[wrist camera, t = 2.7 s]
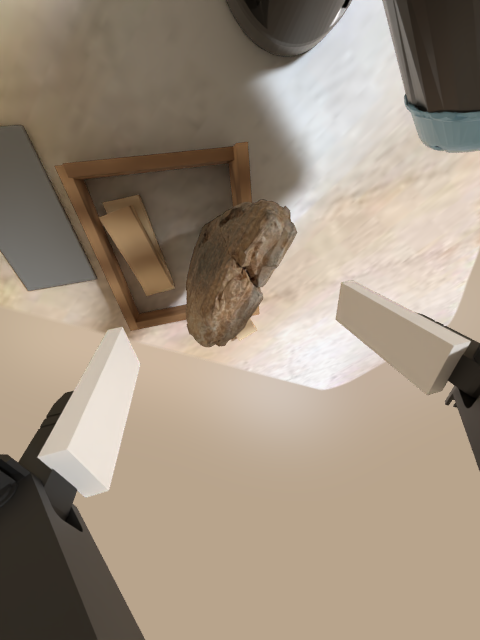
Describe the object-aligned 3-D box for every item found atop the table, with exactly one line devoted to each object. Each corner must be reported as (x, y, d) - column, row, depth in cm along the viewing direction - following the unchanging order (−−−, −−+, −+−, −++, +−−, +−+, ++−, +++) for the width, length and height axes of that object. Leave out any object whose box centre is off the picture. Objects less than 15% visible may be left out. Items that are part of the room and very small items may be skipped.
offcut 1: (106, 202, 28) (101, 202, 26) (140, 194, 28) (137, 194, 27) (148, 291, 35) (146, 296, 33) (174, 284, 35) (174, 288, 34)
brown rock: (204, 288, 36) (221, 372, 19) (175, 277, 34) (167, 359, 17) (244, 205, 31) (315, 220, 14) (213, 185, 29) (254, 177, 12)
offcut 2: (103, 215, 27) (98, 217, 25) (132, 205, 27) (128, 205, 25) (149, 290, 33) (148, 296, 31) (172, 281, 33) (172, 286, 31)
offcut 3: (222, 314, 40) (223, 319, 38) (240, 303, 39) (242, 307, 38) (237, 335, 43) (239, 340, 42) (254, 325, 43) (257, 330, 41)
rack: (67, 168, 25) (38, 162, 20) (236, 150, 28) (247, 141, 23) (134, 321, 36) (126, 341, 31) (249, 298, 39) (259, 314, 34)
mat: (-77, 133, 21) (-81, 132, 21) (23, 125, 23) (20, 124, 22) (30, 289, 30) (28, 290, 30) (97, 278, 32) (96, 279, 31)
